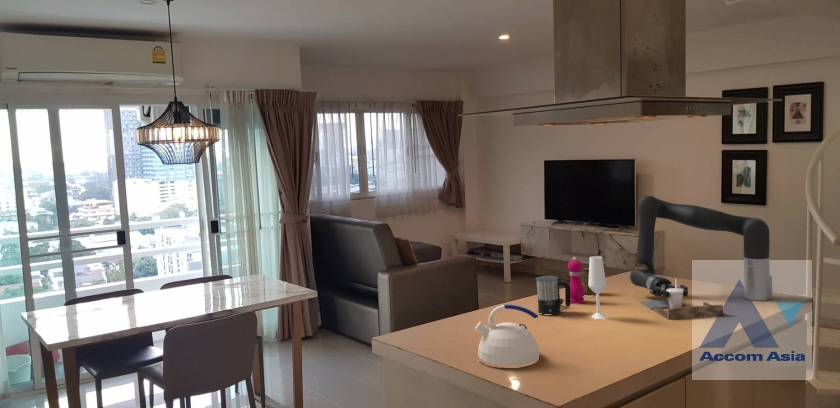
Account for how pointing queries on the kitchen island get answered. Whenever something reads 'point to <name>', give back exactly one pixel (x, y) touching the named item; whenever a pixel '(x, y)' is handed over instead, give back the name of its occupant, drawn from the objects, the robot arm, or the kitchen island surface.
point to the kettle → (507, 341)
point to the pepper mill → (576, 281)
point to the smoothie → (675, 296)
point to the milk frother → (551, 294)
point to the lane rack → (690, 311)
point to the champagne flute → (597, 281)
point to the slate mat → (656, 304)
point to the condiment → (585, 283)
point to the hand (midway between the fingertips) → (677, 294)
